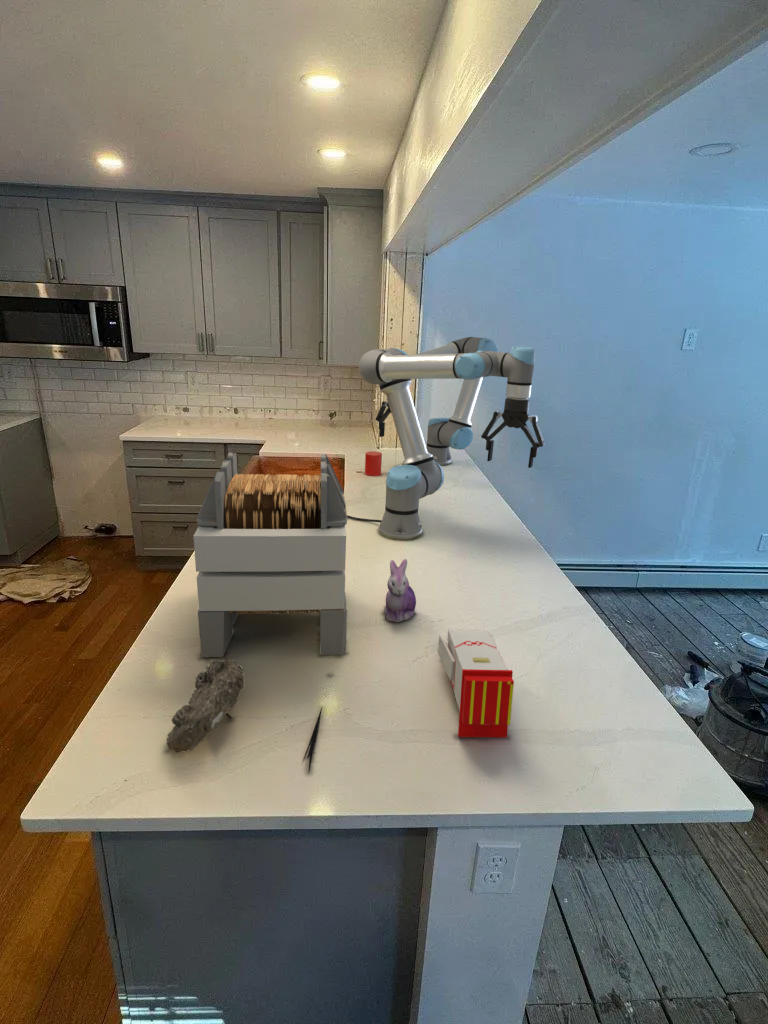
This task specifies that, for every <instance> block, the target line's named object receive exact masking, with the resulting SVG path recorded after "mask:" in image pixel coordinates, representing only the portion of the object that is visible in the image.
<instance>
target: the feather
mask: <svg viewBox="0 0 768 1024" xmlns="http://www.w3.org/2000/svg"><path fill="white" fill-rule="evenodd" d="M329 675H330V676H331V675H332V674H331V673H330V674H329ZM322 710H323V707H321V708H320V710H319V713H318V716H317V719H316V723H315V725H314V728H313V731H312V733H311V737H310V739H309V742H308V745H307V748H306V751H305V754H304V757H303V760H302V763H301V767H302V765H303V763H304V761H305V758H308V759H309V760H308V762H307V763H308V764H307V766H308V771H310V770H311V766H312V765H311V764H312V760H313V757H315V756H314V755H315V751H316V749H315V746H317V739H318V733H319V729H320V722H321V717H322V712H323V711H322ZM313 754H314V755H313ZM306 755H307V757H306Z"/></svg>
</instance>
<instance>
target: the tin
mask: <svg viewBox="0 0 768 1024" xmlns="http://www.w3.org/2000/svg"><path fill="white" fill-rule="evenodd" d="M364 455H365V456H364V475H366V476H368V477H379V476H381V475H382V457H383V453H382V452H381V451H372V450H371V451H365V454H364Z"/></svg>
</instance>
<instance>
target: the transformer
mask: <svg viewBox="0 0 768 1024" xmlns="http://www.w3.org/2000/svg"><path fill="white" fill-rule="evenodd" d="M347 515H348V511H347V505H346V498H345V491H344V489H343V486H342V484H341V483H340V481H339V478H338V477H337V475H336V472H335V470H334V468H333V466H332V463H331V461H330V458H329V457H328V455H327V453H320V474H313V476H312V475H311V474H303V475H302V474H300V475H299V474H279V473H278V474H275V475H274V474H273V475H272V474H271V475H270V474H269V473H268V474H267V473H266V474H263V473H256V474H255V473H251V474H249V473H246V474H244V473H238V462H237V452H234V453H233V452H227V455H226V457H225V460H223V461H222V464H221V466H220V468H219V470H218V471H216V473H215V475H214V477H213V479H212V482H211V484H210V487H209V489H208V491H207V493H206V494H205V497H204V500H203V503H202V505H201V507H200V509H199V511H198V513H197V516H196V524H197V528H196V530H195V532H194V534H193V548H194V549H193V551H194V560H195V561H194V563H195V572H196V573H197V572H198V574H197V575H196V590H197V602H198V609H197V622H198V635H199V636H198V637H199V641H200V657H201V658H204V659H205V658H206V659H208V658H210V657H211V658H223V657H224V655H225V654H226V650H227V648H228V646H229V644H230V641H231V639H232V637H233V634H234V625H235V624H236V622H237V619H238V615H240V614H241V615H242V614H245V615H248V614H249V615H252V614H253V615H254V614H255V615H256V614H288V613H289V614H301V613H302V614H305V613H306V614H309V613H311V614H312V613H313V614H314V613H317V614H318V613H319V634H320V635H319V647H320V648H319V651H320V652H319V654H320V655H321V656H324V655H327V656H330V655H336V656H342V655H344V654H346V653H347V620H348V619H347V618H348V617H347V614H348V610H347V597H346V556H347V555H346V551H347V531H346V525H347V524H348V518H347Z"/></svg>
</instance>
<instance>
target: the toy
mask: <svg viewBox="0 0 768 1024" xmlns="http://www.w3.org/2000/svg"><path fill="white" fill-rule="evenodd" d="M446 640H447V643H446V641H445V639H444V636H443V635H442V634H439V637H438V646H437V656H438V657H439V659H440V661H441V663H442V666H443V668H444V670H445V672H446V674H447V677H448V679H449V681H450V684H451V687H452V690H453V693H454V697H455V701H456V705H457V708H458V711H459V714H458V715H459V716H458V730H457V731H458V732H457V737H458V738H508V731H509V726H510V725H511V717H512V707H513V697H514V696H513V695H514V684H515V680H514V679H513V673H514V671H513V670H512V669H508V667H507V665H506V662H505V661H504V659H503V658H502V655H501V653H500V651H499V649H498V647H497V643H496V639H495V637H494V635H493V634H491V632H490V631H489V629H467V628H466V629H465V628H463V629H461V628H460V629H459V628H448V630H447V639H446Z"/></svg>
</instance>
